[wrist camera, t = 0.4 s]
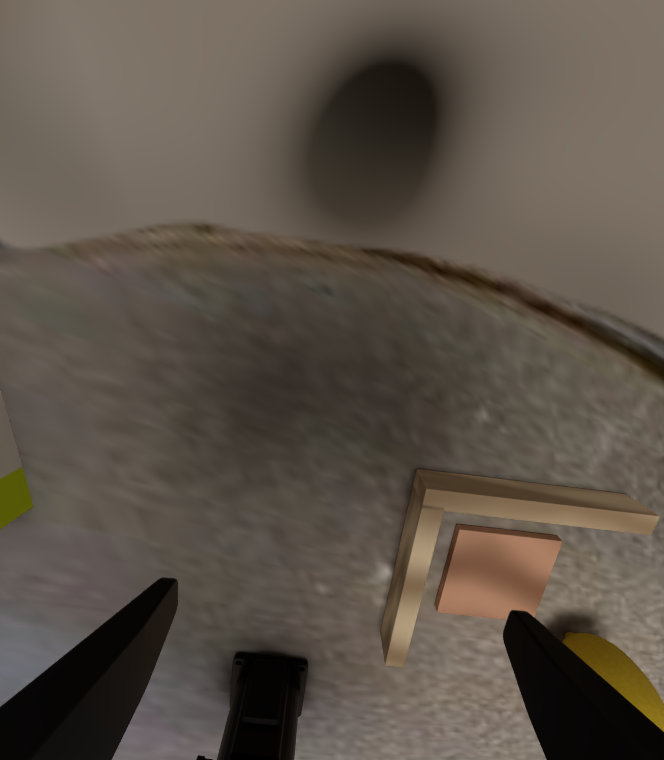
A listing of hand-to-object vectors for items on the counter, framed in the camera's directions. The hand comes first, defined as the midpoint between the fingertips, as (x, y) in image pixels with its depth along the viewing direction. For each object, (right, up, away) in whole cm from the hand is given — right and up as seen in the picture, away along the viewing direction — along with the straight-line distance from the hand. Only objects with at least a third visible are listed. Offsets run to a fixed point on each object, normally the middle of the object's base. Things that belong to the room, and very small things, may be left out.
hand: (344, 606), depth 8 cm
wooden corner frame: (+13, -9, +17) cm, 23 cm away
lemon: (+20, -16, +19) cm, 32 cm away
